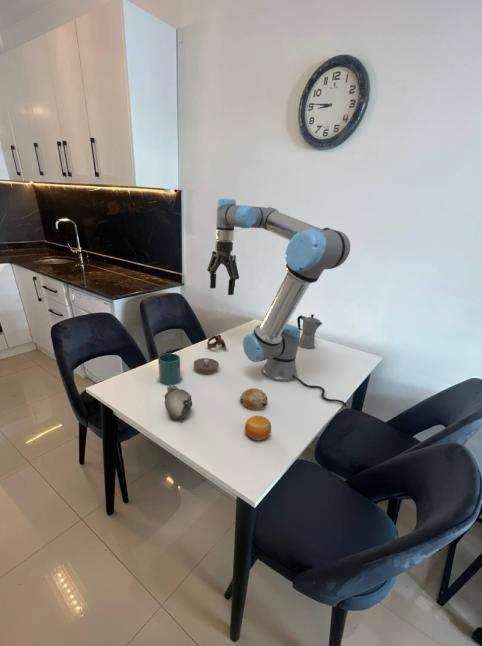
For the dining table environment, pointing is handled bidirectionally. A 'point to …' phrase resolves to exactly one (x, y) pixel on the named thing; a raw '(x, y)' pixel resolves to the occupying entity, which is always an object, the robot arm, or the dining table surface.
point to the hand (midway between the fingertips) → (221, 291)
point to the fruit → (258, 427)
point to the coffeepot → (308, 330)
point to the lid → (206, 366)
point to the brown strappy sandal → (218, 342)
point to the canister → (169, 369)
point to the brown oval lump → (254, 399)
